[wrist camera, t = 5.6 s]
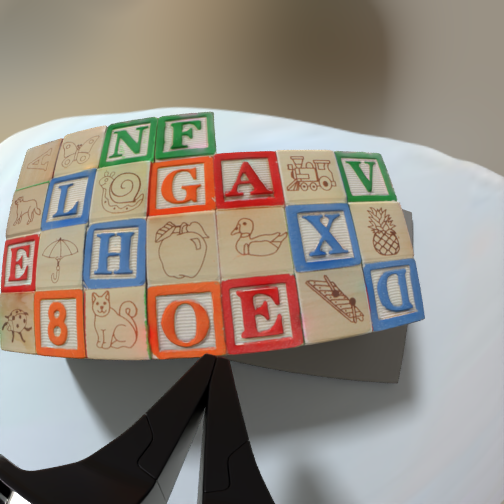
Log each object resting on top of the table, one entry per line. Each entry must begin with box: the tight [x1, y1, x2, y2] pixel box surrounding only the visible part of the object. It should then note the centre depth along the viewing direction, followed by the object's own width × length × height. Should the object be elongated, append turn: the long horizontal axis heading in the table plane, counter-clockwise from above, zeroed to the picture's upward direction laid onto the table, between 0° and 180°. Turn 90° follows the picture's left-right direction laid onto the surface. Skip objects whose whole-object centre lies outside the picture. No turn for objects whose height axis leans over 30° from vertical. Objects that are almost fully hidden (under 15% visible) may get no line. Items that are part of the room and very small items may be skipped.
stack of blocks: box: [0, 112, 425, 360], centre depth 15 cm, size 21×6×12 cm
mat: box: [216, 209, 412, 383], centre depth 18 cm, size 13×24×1 cm, turn 78°
